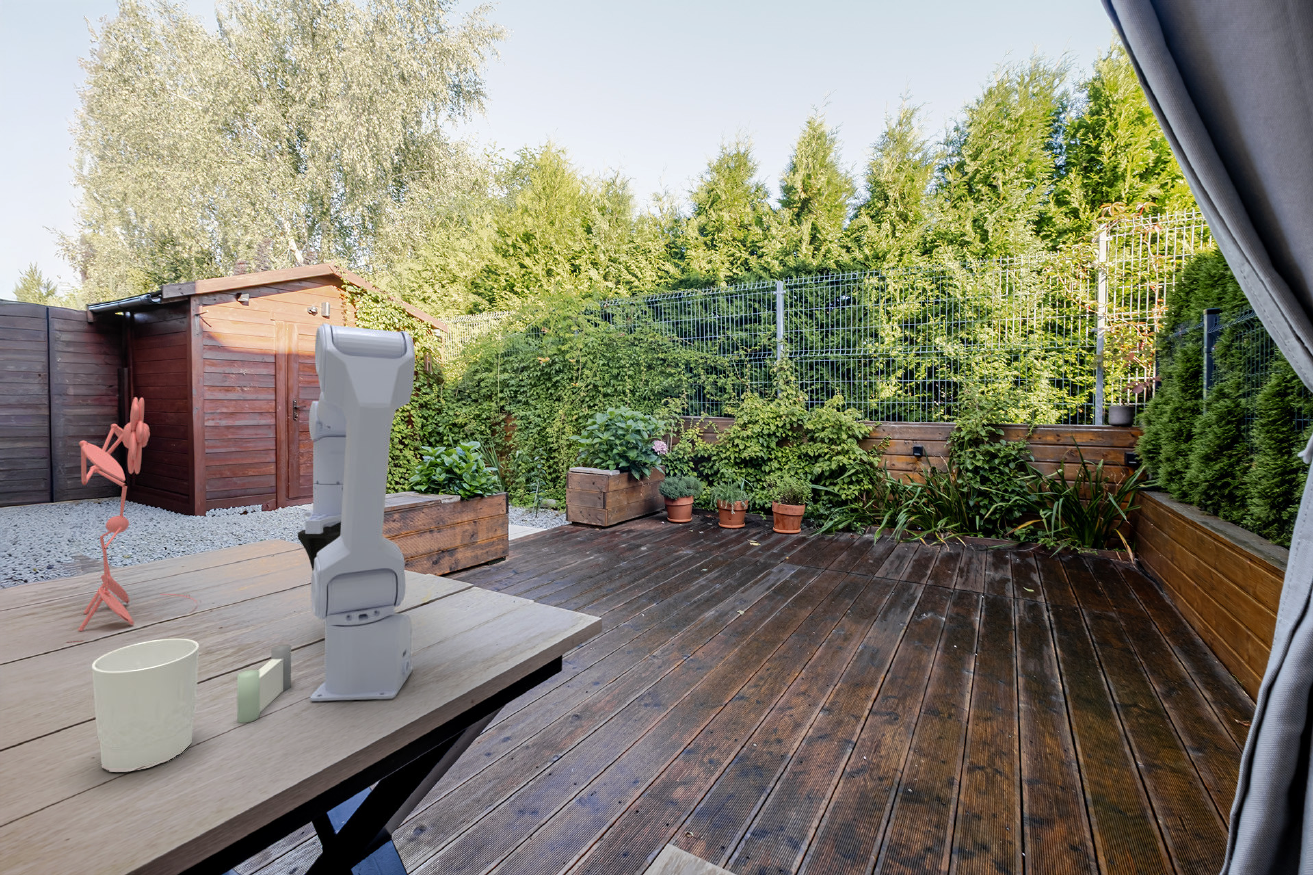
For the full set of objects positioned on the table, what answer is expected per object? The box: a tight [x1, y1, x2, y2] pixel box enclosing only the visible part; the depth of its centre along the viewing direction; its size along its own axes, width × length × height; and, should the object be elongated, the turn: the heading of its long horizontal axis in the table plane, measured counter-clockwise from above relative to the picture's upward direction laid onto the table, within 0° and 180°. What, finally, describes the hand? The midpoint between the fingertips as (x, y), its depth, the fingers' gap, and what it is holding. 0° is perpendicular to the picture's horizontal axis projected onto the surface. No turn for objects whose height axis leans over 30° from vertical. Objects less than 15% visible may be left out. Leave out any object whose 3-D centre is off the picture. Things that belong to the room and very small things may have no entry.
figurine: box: [66, 396, 202, 644], centre depth 93 cm, size 15×26×35 cm, turn 41°
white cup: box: [91, 638, 200, 768], centre depth 57 cm, size 8×8×10 cm
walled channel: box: [236, 643, 292, 724], centre depth 67 cm, size 14×9×5 cm, turn 97°
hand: (334, 571), depth 88 cm, fingers open, 7 cm apart
